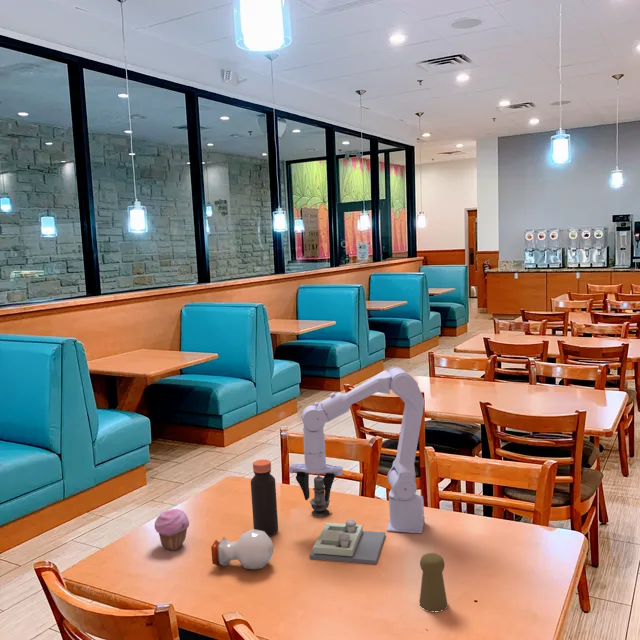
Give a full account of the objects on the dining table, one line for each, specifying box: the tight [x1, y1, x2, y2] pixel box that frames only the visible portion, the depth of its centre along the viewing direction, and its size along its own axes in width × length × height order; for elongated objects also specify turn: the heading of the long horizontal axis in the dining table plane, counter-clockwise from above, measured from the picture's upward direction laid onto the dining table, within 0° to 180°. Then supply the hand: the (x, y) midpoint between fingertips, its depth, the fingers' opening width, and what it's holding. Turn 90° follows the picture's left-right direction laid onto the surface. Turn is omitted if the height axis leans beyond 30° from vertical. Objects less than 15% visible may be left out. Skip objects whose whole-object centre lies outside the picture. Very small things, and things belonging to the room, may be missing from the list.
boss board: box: [308, 519, 386, 565], centre depth 161 cm, size 17×15×5 cm
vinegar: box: [250, 459, 279, 537], centre depth 171 cm, size 7×7×20 cm
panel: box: [312, 522, 364, 556], centre depth 162 cm, size 10×14×2 cm
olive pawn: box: [419, 552, 448, 613], centre depth 133 cm, size 6×6×11 cm
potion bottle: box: [210, 528, 274, 571], centre depth 153 cm, size 9×10×15 cm
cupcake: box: [154, 508, 190, 551], centre depth 166 cm, size 9×9×10 cm
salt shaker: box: [309, 474, 331, 518], centre depth 182 cm, size 6×6×12 cm
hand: (317, 499), depth 168 cm, fingers open, 5 cm apart
